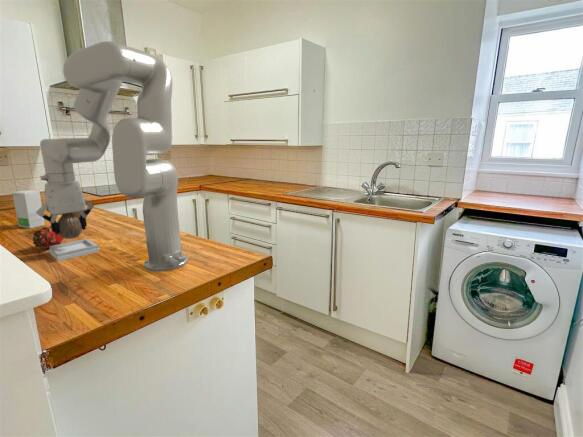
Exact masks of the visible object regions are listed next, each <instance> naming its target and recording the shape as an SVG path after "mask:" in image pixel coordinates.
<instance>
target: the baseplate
mask: <svg viewBox="0 0 583 437" xmlns="http://www.w3.org/2000/svg"><path fill="white" fill-rule="evenodd" d="M49 248H50V249H49V250H48V253H49V254H50V255H51V256H52V257H53V258H54V259H55V260H56V261H57V262H61V261H66V260H70V259H75V258H78V257H83V256H87V255H90V254H95V253H99V252H101V250H100V247H99V245H98V244H96V243H95V242H93V241H92V240H90V239H89V238H85V239H79V240H75V241H70V242H65V243H61V244H59V245H54V246H49ZM69 258H70V259H69Z"/></svg>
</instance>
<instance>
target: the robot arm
mask: <svg viewBox="0 0 583 437" xmlns="http://www.w3.org/2000/svg"><path fill="white" fill-rule="evenodd" d="M62 69H63V70H62V72H63V73H62V74H63V77H64V79H65V81H66V82H67V83H68V84H69V85H70V86H71V87H74V88H75V89H79V90H78V92H77V94H76V98H75V100H74V101H73V109H74V111H75V112H76V113H77V114H78V115H79V116H81V117H82V118H84V119H85V120H87V121H89V122H91V123H92V127H91V130H90V133H89V134H88V137H72V138H71V137H69V138H67V137H65V138H64V137H63V138H45V139H41V140H40V143H39V146H40V151H41V152H40V153H41V157H42V162H43V168H44V172H45V173H44V174H43V175H41V176H40V180H41V181H45V182H46V183H45V184H44V199H45V200H44V201H45V203H44V204H42V207H41V208H39V209H38V210H37V211H36V214H38V215H39V216H41V217H42V218H44V220H46V221H48V222H49V223H50V226H51V228H52V232H55V234H56V235H58V234H59V229H58V224H57V222H58V221H56V219H57V217H58V216H59V215H61V216H62V214H68V213H75V212H78V213H79V215H80V218H79V220H80V222H81V224H82V231H83V230H87V229H86V227H87V225H88V224H87V217H88V216H89V214H90V212H92V210H93V209H94V207H95V204H93V203H92V202H90V201H88V200H86V199H85V197H84V194H83V191H82V186H81V183H80V182H79V181H77V180H76V176H75V171H74V170H75V169H74V165H73V164H79V163H91V162H97V161H99V160H101V159H102V157H103V156H104V155H105V153H106V151H107V149H108V148H109V144H110V142H111V148H112V160H113V162H112V163H113V174H114V181H115V185H116V187H117V189H118V191H119V192H120V193H121V194H122V195H123V196H125V197H127V198H130V199H137V198H143V202H142V216H143V226H144V231H145V233H144V234H145V239H146V240H145V241H146V248H147V254H148V255H147V256H148V257H147V259H146V260H145V261H144V262H143V269H145V270H147V271H149V272H155V273H156V272H169V271H173V270H177V269H180V268H181V267H184V266H185V265H187V263H188V261H189V259H188V256H187V255H185V254H183V250H182V242H181V229H180V220H179V211H178V188H179V187H178V185H179V175H178V171H177V169H176V167H175V166H174V164H173V163H172V162H170V161H169V160H167V159H164V158H163V159H162V158H150V159H147V156H152V155H162V154H166V153H167V152H168V151H169V150H171V148H172V143H173V142H172V141H173V134H172V133H173V130H172V129H173V128H172V127H173V125H172V122H173V120H172V118H173V117H172V98H173V96H172V95H173V77H172V74H171V71H170V69H169V68H168V66H167V64H166V63H165V62H164V61H163V60H162V59H160V58H158V57H157V56H155V55H153V54H151V53H149V52H146V51H144V50H141V49H139V48H134V47H131V46H127V45H125V44H123V43H119V42H114V41H109V40H108V41H101V42H100V41H99V42H98V43H94V44H93V45H89V46H87V47H84V48H81V49H79V50H76V51H74V52H73V53H71V54H70V55H69V56H68V57H67V58H66V60H65V61H64V64H63V68H62ZM123 82H125V83H130V84H136V85H139V86H141V90H140V91H139V93H138V97H137V102H136V106H137V117H124V118H122V119H120V120H118V121H117V122H116V124H115V126H114V128H113V130H112V133H111V129H110V125H109V123H108V120H107V119H108V115H109V113H110V111H111V108H112V106H113V104H114V103H115V100H116V98H117V95H118V93H119V91H120V89H121V86H122V83H123ZM111 134H112V135H111ZM86 206H87V207H86ZM45 211H46V212H47V213H49V214H50V215H47V214H45V213H44V212H45ZM83 211H84V212H83Z"/></svg>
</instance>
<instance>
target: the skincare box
mask: <svg viewBox="0 0 583 437" xmlns="http://www.w3.org/2000/svg"><path fill="white" fill-rule="evenodd" d="M40 193H41V192H40V191H38V190H37V191H36V190H30V189H29V190H28V189H27V190H26V189H25V190H17V191H13V192H12V197H13V198H12V200H13V204H14V209H15V210H14V211H15V215H16V220H17V225H18V227H20V228H25V229H34V228H37V227H41V226H45V225H46V224H45V219H44V218H42V217H41V216H39V215H38V214H36V211H37V210H38V209H39V208H41V207H42V206H43V204H42V200H41V194H40Z"/></svg>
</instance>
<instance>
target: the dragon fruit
mask: <svg viewBox="0 0 583 437" xmlns="http://www.w3.org/2000/svg"><path fill="white" fill-rule="evenodd" d="M64 239H65V238H63V237H61V236H60V235H59V234H58V235H56V234H55V232H52V228H51V225H50V226H46V227H43V228H41V229H38V230H36V231H33V238H32V243H33V245H34V246H35V247H37V248H40V247H42V248H43V250H48V251H49V249H50V248H49V246H54V245H59V244H62V242H63V240H64Z"/></svg>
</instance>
